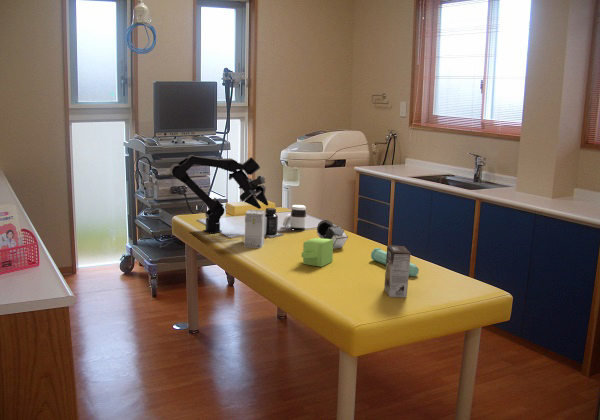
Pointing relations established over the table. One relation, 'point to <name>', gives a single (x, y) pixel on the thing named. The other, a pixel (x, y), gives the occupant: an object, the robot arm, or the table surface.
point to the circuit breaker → (255, 228)
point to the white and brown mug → (296, 218)
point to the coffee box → (397, 271)
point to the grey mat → (274, 235)
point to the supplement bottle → (271, 221)
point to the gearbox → (317, 252)
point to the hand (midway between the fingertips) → (264, 206)
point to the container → (381, 257)
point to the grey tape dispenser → (332, 233)
